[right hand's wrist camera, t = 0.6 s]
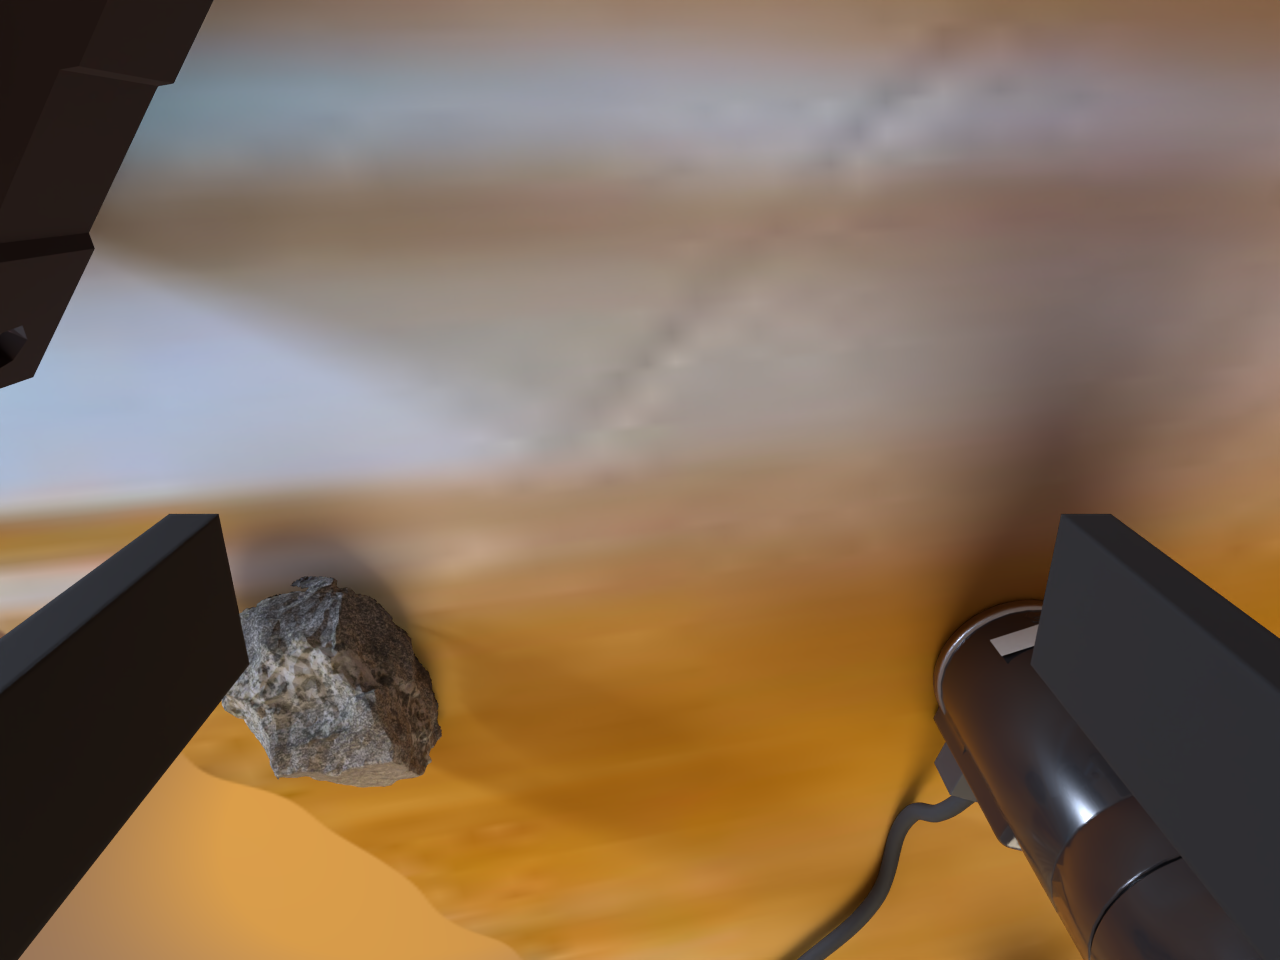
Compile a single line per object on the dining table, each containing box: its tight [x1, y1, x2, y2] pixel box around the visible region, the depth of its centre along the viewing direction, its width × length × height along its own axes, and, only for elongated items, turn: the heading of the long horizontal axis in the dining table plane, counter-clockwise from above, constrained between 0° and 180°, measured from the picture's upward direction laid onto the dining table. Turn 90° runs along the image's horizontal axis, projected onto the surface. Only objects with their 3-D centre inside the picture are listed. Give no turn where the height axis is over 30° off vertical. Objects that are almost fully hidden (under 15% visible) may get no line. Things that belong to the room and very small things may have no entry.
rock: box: [222, 576, 442, 787], centre depth 43 cm, size 13×9×6 cm, turn 45°
